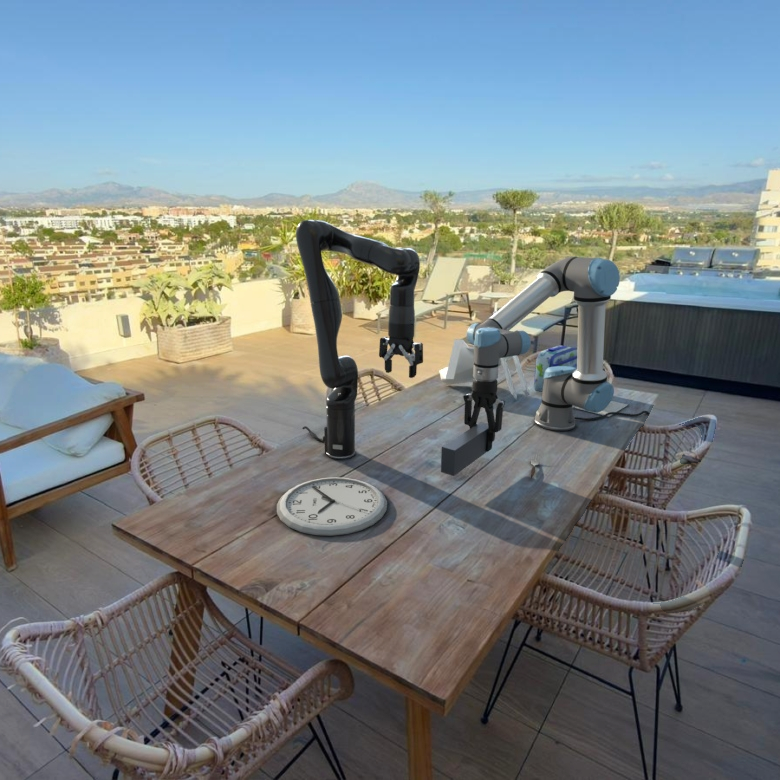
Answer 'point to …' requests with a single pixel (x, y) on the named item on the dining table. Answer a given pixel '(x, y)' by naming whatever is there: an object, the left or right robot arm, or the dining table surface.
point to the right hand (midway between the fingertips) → (481, 448)
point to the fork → (534, 465)
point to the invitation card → (609, 408)
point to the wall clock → (331, 506)
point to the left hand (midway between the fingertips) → (400, 374)
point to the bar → (464, 449)
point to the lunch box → (553, 362)
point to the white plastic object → (464, 364)
